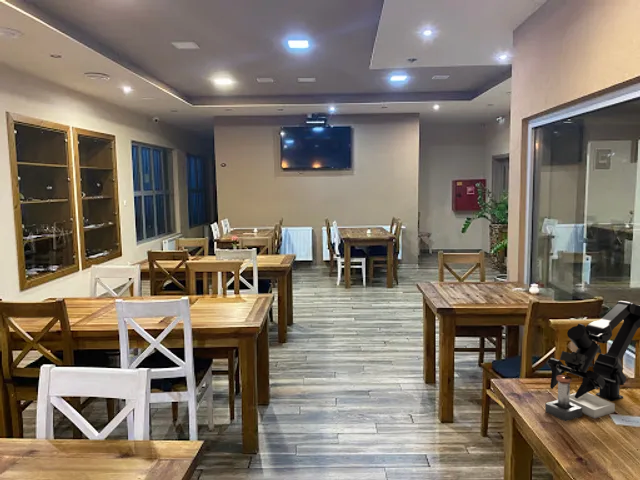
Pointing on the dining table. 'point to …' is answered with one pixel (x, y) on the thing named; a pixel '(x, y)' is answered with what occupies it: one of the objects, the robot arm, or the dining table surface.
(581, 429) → the dining table surface
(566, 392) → the pin
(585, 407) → the tray
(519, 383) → the dining table surface
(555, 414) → the dark grey square socket
